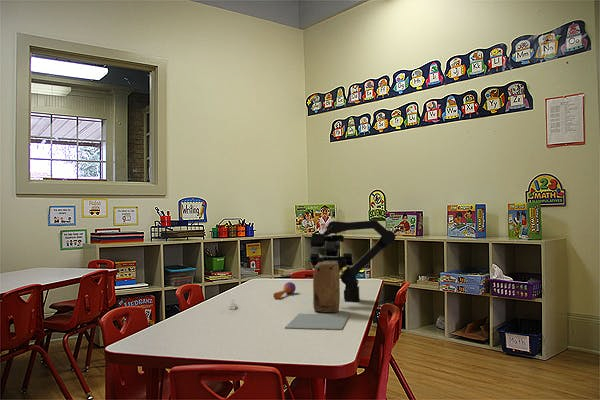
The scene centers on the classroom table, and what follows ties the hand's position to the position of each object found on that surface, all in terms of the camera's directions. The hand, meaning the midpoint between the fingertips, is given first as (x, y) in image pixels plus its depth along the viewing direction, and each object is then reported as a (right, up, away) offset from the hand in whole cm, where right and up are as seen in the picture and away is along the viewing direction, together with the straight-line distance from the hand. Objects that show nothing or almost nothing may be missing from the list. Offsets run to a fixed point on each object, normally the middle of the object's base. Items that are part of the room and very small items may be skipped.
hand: (330, 274), depth 213 cm
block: (-2, -14, -13) cm, 19 cm away
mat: (-6, -13, -31) cm, 34 cm away
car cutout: (-43, -15, -5) cm, 46 cm away
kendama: (-21, -15, +29) cm, 39 cm away
